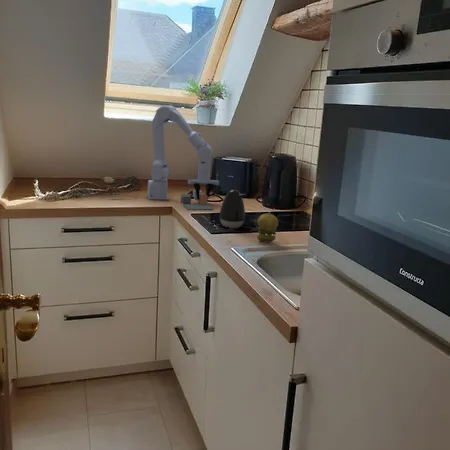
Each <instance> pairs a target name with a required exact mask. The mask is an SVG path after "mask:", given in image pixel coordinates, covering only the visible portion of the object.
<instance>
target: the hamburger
mask: <svg viewBox="0 0 450 450" xmlns="http://www.w3.org/2000/svg"><path fill="white" fill-rule="evenodd" d="M256 221H257V225H258V226H259V227H257V229H258V231H257V233H258V235H256V238H257V240H258V241H259V242H263V241H267V242H266V243H268V241H270V242H274V241H275V240H276V238H277V237H276V235H277V233H276V232H277V227H278V226H279V220H278V218H277V217H276V216H275V215H274V214H272V213H271V212H270V211H269V212H266V213H263V214H261V215H260V216H258V218H257V220H256Z"/></svg>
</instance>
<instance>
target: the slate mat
mask: <svg viewBox="0 0 450 450" xmlns="http://www.w3.org/2000/svg"><path fill="white" fill-rule="evenodd" d="M182 205H183V207H184V208H185V210H186V209H187V210H186V211H214V208H213V207H212V206H211V205H210V204H208V203H207V204H199V203H197V204H196V203H195V204H193V203H191V204H182Z"/></svg>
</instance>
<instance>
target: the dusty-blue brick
mask: <svg viewBox="0 0 450 450" xmlns="http://www.w3.org/2000/svg"><path fill="white" fill-rule="evenodd" d="M200 193H203V191H202V190H201V189H200ZM193 197H194V198H193ZM192 198H193V200H194V201H197V195H196V191H195V189H193V190H192Z"/></svg>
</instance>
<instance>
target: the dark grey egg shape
mask: <svg viewBox="0 0 450 450" xmlns="http://www.w3.org/2000/svg"><path fill="white" fill-rule="evenodd" d="M246 196H247V194H246V193H241V192H240V191H239V190H237V189H230V190H228V192H227V193H226V195H225V197H224V199H223V201H222V203H221V206H220V210H219V220H220V224H222V226H223V227H224V226H225V228H226V227H229V228H228V229H231V228H235V229H238V228H240V227H241V226H242V225H243V224H244V222H245V219H246V212H245V211H246V209H245V204H244V199H243V198H244V197H246Z"/></svg>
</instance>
